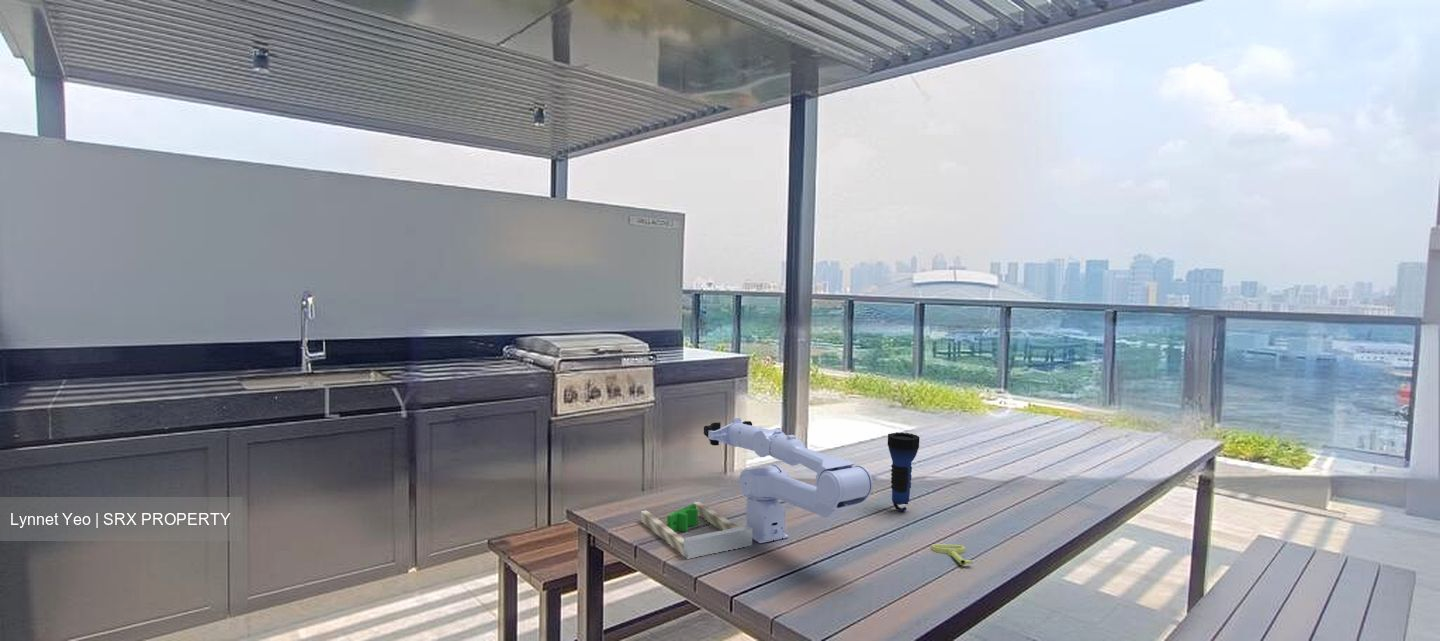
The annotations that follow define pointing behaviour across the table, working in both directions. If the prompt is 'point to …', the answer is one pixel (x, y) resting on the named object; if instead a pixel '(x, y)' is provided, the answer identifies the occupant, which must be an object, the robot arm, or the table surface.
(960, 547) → the key
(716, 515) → the guide rails
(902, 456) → the flashlight
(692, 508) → the pipe clamp
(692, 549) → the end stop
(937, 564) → the table surface
